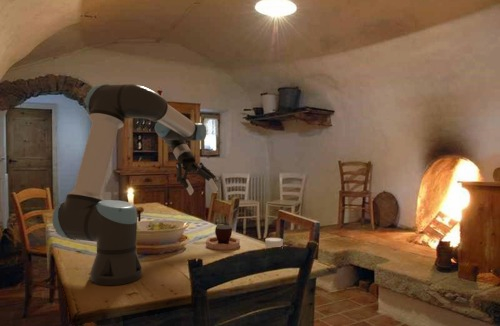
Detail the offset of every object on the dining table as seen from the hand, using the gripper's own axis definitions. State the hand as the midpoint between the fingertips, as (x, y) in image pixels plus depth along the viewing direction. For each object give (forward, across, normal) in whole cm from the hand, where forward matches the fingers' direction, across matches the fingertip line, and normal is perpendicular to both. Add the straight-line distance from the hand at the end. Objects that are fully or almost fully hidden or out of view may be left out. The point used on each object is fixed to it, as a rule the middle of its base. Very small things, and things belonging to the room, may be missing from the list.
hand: (204, 192), depth 167 cm
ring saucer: (+23, -2, -7) cm, 24 cm away
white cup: (+41, -5, +10) cm, 43 cm away
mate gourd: (+22, -3, -7) cm, 23 cm away
